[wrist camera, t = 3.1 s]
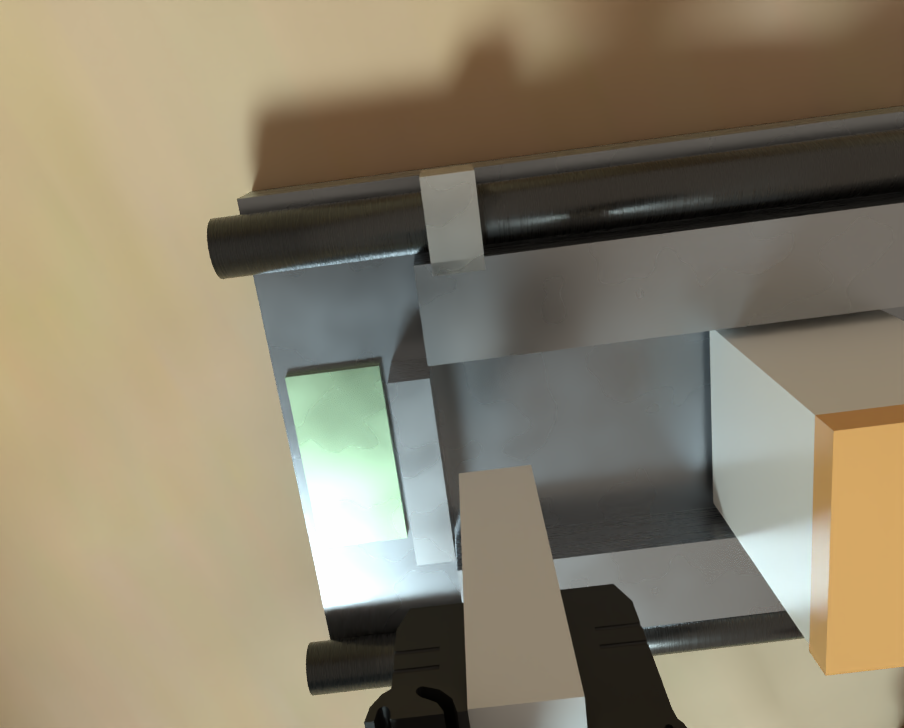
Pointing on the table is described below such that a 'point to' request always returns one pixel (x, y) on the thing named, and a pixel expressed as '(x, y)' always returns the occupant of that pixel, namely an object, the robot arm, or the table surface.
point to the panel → (551, 357)
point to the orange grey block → (818, 475)
